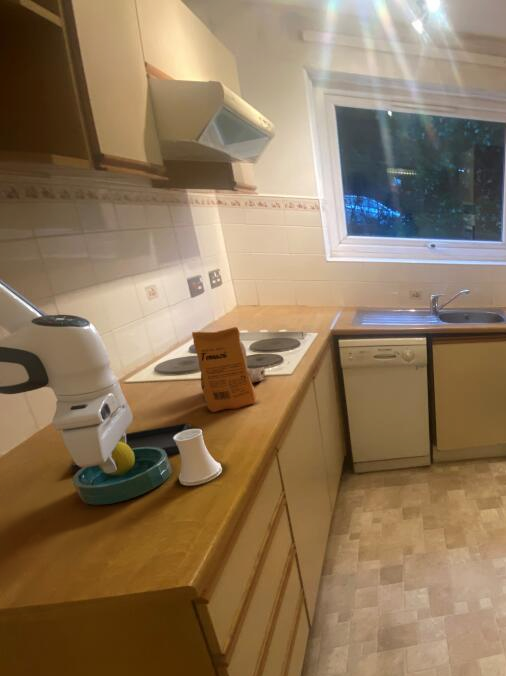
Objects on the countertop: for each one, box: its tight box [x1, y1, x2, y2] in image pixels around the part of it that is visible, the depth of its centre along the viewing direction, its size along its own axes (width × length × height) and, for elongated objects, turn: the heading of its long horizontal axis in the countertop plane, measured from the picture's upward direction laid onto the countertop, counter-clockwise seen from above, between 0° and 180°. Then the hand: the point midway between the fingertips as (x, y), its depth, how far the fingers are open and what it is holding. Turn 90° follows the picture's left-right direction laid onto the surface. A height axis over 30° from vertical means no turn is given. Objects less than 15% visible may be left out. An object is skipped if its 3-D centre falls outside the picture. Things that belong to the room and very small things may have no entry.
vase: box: [173, 428, 223, 486], centre depth 91 cm, size 8×8×10 cm
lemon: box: [99, 441, 135, 476], centre depth 87 cm, size 6×6×8 cm
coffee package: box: [191, 326, 257, 413], centre depth 121 cm, size 10×12×22 cm
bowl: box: [72, 447, 173, 506], centre depth 89 cm, size 15×15×4 cm
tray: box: [70, 422, 192, 474], centre depth 102 cm, size 19×12×2 cm, turn 116°
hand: (117, 462), depth 88 cm, fingers closed on lemon, 5 cm apart
